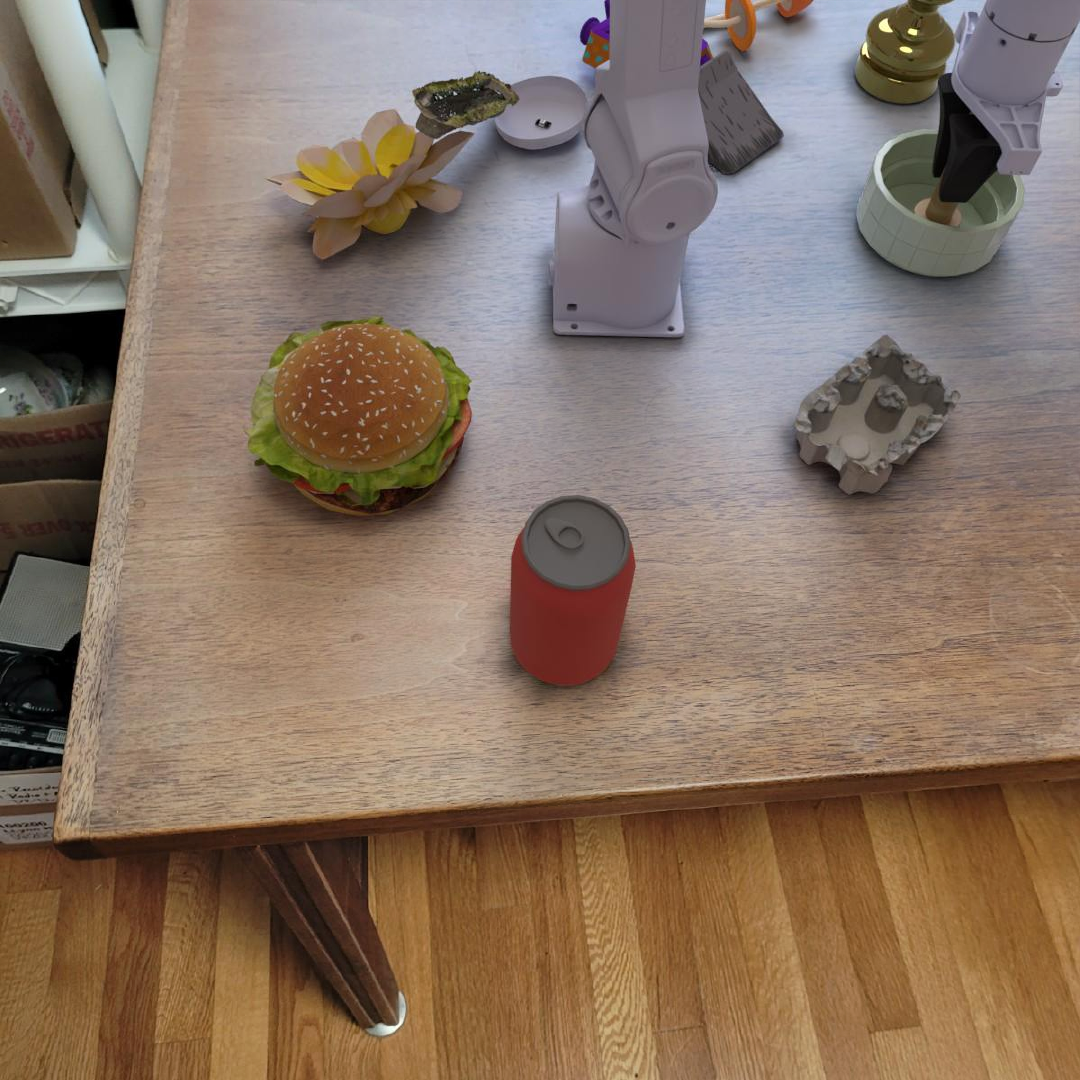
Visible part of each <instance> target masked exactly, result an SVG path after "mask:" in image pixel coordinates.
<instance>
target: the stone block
mask: <svg viewBox="0 0 1080 1080" xmlns="http://www.w3.org/2000/svg"><path fill="white" fill-rule="evenodd" d="M476 71H477V70H475V71H474V73H473V74H472V75H471V76H467V77H465V78H464V77H463V76H462V77H460V78H451V79H448V80H437V81H431V82H428V83H426V84H424V85H423V86H421V87H416V88H414V89H413V90H411V93H412V96H413V98H414V99H413V100H414V101H413V102H414V106H415V107H416V108H418V110H419V112H420V113H419V116H418V118H417V120H416V122H415V126H414V128H415V130H417V131H418V132H419V131H420V132H422V133H424V134H425V135H427V136H429V137H430V138H433V139H434V140H438V139H441V138H443V137H444V136H446V135H447V134H450V133H452V132H453V131H456V130H458V129H460V128H461V129H463V128H464V127H466V126H475V125H477V124H479V123H482V122H486V121H487V120H489V119H490V120H491V119H493V118H495V117H498V116H500V115H501V114H502V113H503V112H504V110H505V108H506V105H508V104H512V106H513V105H515V104H516V103H517V102H518V101H519V97H518V95H516V92H514V91H513V90H511V85H512V84H510V83H507V82H506V83H505V82H504V81H501V79H500V78H497V77H496V76H495V75H494V74H491V73H489V72H488V73H487V72H486V71H480V70H478V71H477V72H476ZM500 93H501V94H500ZM510 94H511V95H510ZM501 95H502V96H501ZM440 97H441V98H440Z"/></svg>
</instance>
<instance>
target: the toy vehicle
mask: <svg viewBox="0 0 1080 1080" xmlns="http://www.w3.org/2000/svg"><path fill="white" fill-rule="evenodd" d="M603 5H604V11H605V18H604V20H602V21H600V19H599V18H598V17H595V16H592V17H589V18H588V19H587V20H586V21H585V22H584V23H583V25H582V27H581V29H580V32H579V41H580V43H581V44H582V45H583V46H585V49H584V52H583V55H582V63H584V64H586V65H589V66H591V67H592V68H594V69H596V68H597V67H598V66H599V65H601V64H603V63H604V62H606V61H608V60H610V0H604V2H603ZM698 93H699V98H700V103H701V108H702V113H703V118H704V122H705V127H706V132H707V137H708V144H709V147H708V159H707V161H708V163H710V164H711V165H713V166H714V167H715V168H716V169H717V170H719V171H720V173H722V174H723V175H728V174H734V173H736V172H737V171H738V170H740V169H741V168H743V167H744V166H745V165H747V164H748V163H750V162H751V161H752V160H753V159H755V158H756V157H758V156H759V155H760V154H761V153H763V152H764V151H766V150H767V149H769V148H770V147H772V146H773V145H774V144H776V143H777V142H778V141H780V140H781V139H783V138H784V136H785V135H784V131H783V130H782V129H781V128H780V126H779V125H778V124H777V123H776V121H775V120H774V119H773V117H772V116H771V115H770V113H769V112H768V111H767V109H766V108H765V106H764V104H763V103H762V102H761V101H760V99H759V98H758V96H757V95H756V93H755V91H753V89H752V87H751V86H750V85H749V82H747V81H746V79H745V77H744V76H743V74H742V73H741V72H740V70H739V69H738V65H737V64H736V62H735V60H734V57H733V55H732V52H730V51H729V50H723V51H721V52H720V53H718V54H716V55H715V56H713V53H712V50H711V48H710V45H709V43H708V41H707V40H705V39H704V38H702V49H701V60H700V70H699V81H698Z"/></svg>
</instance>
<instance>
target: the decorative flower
mask: <svg viewBox="0 0 1080 1080" xmlns="http://www.w3.org/2000/svg"><path fill="white" fill-rule="evenodd" d="M474 135H476V133H475V132H473V131H464V130H458V131H455V132H450V133H447V134H446V135H444V136H442V137H441V138H439V140H437V141H435V139H433V138H430V137H429V136H427V135H425V134H424V133H422V132H420V131H419V130H418V132H416V128H415V126H414V125H410V124H407V123H405V122H404V120H403V118H402V117H401V115H400V113H399V112H398V111H397V110H396V109H395V108H391V109H386V110H381V111H376V112H375V113H374V114H373V115H372V116H371V117H370V118H369V119H368V120H367V121H366V124H365V125H364V128H363V130H362V131H361V134H360V139H358V138H355V137H351V138H349V139H344V140H343V141H340V142H339V143H337V144H336V145H334V146H333V147H332V148H329V147H328V146H326V145H325V146H324V145H319V144H310V145H308V146H306V147H304V148H302V149H300V150H299V152H297V154H296V156H295V163H296V166H297V167H298V170H296V171H292V172H287V173H282V174H277V175H273V176H271V177H266V178H264V179H265V180H266V181H268V182H271V183H273V184H276V185H278V186H279V188H280V190H281V191H282V192H283V193H284V194H285V195H286V196H288V197H289V198H290V199H293V200H294V201H295V202H297V203H300V204H302V205H304V206H307V207H308V208H307V209H306V210H305V211H304V212H302V213H301V215H303V216H311V217H317V219H315V221H314V222H313V224H312V226H310V228H309V229H308V231H307V234H313V240H312V251H313V254H314V255H315V256H316V257H317V258H318V259H321V260H324V259H327V258H329V257H332V256H334V255H335V254H337V253H339V252H341V251H343V250H345V249H347V248H348V247H350V246H352V245H354V244H355V243H356V242H357V240H358V239H359V238H360V237H361V233H362V230H363V228H362V226H363V227H365V228H367V229H368V230H370V231H372V232H375V233H378V234H381V235H386V234H391V233H394V232H397V231H398V230H400V229H402V227H403V225H404V224H405V223H406V221H407V219H408V218H409V216H410V213H411V210H412V209H416V208H418V206H417V205H418V204H417V202H418V203H419V205H420V206H422V207H424V208H426V209H428V210H431V211H433V212H437V213H440V214H443V213H447V212H451V211H453V210H454V209H456V208H457V207H458V206H459V204H460V201H461V199H462V196H463V194H462V191H461V190H460V189H458V188H456V187H453V186H451V185H450V184H447V183H446V182H441V181H439V180H436V179H433V178H434V177H435V176H436V175H438V174H440V172H441V171H442V170H443V169H445V167H447V166H448V165H449V164H450V163H451V162H452V161H453V160H454V159H455V158H456V156H457V155H458V154H459V153H460V152H461V151H462V150H463V148H464V147H465V145H467V144H468V142H469V141H470V140H471V139H472V138H473V137H474ZM434 141H435V142H434Z"/></svg>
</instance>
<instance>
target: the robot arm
mask: <svg viewBox="0 0 1080 1080" xmlns="http://www.w3.org/2000/svg"><path fill="white" fill-rule="evenodd" d="M706 4H707V0H610V60H608V61H606V62H604V63H603V64H601V65H599V66H598V67H597V68H595V70H594V71H595V72H594V73H595V77H594V78H595V79H594V80H595V81H594V82H595V83H594V89H593V92H592V96H591V98H590V100H589V102H588V103H587V104H588V106H587V107H586V109H585V112H584V115H583V119H582V129H581V134H582V138H583V140H584V143H585V144H586V146H587V148H588V149H589V150H590V151H591V153H592V156H593V158H594V167H593V173H592V176H591V178H590V182H589V184H587V185H585V186H582V187H580V188H575V189H574V188H573V189H570V190H563V191H558V192H557V196H556V209H555V224H554V225H555V226H554V239H553V240H554V241H553V253H552V259H550V260H549V263H548V265H549V266H548V267H549V268H548V285H549V286H550V287H552V315H553V317H552V328H553V329H552V330H553V332H554V334H556V335H561V336H562V335H563V336H564V335H565V336H605V337H640V338H641V337H643V338H644V337H646V338H682V337H683V336H684V334H685V319H684V307H683V298H682V286H681V285H682V284H681V276H682V271H683V268H684V261H685V258H686V253H687V248H688V244H689V243H688V242H689V238H690V235H691V233H692V232H694V231H695V230H697V229H698V228H699V227H700V226H701V225H702V224H703V223H704V222H705V221H706V220H707V219H708V217H709V216H710V214H711V213H712V211H713V209H714V208H715V205H716V203H717V200H718V195H719V194H718V193H719V189H718V182H717V180H716V177H715V175H714V174H713V172H712V170H711V169H710V166H709V161H708V160H707V159H708V147H709V144H708V137H707V132H706V127H705V122H704V118H703V113H702V108H701V103H700V98H699V93H698V81H699V70H700V60H701V49H702V38H703V36H704V29H705V28H704V18H706V6H707V5H706ZM1079 24H1080V0H986V1H985V3H984V5H983V7H982V10H974V9H973V10H970V9H969V10H968V9H964V10H963V12H962V15H961V18H960V20H959V22H958V24H957V27H956V29H955V32H954V36H955V43H957V44H958V48H957V52H956V57H955V61H954V65H953V68H952V72H944V74H943V75H941V76H940V77H939V79H938V87H937V89H938V97H939V98H938V99H939V118H938V119H939V120H938V128H937V130H938V136H937V142H936V147H935V153H934V159H933V167H932V173H933V177H934V178H940V177H941V175H942V173H943V170H944V168H945V170H944V173H943V176H942V179H941V183H940V188H939V198H940V201H941V202H954V203H966V202H968V201H969V200H970V198H971V197H972V196H973V195H974V194H975V193H976V192H977V191H978V190H979V189H980V187H981V186H982V185H983V184H984V183H985V182H986V181H987V180H988V179H989V178H990V177H991V176H992V175H993V174H994V173H995V172H996V171H997V170H998V171H999V174H1009V175H1020V176H1029V175H1031V173H1032V171H1033V170H1034V168H1035V166H1036V164H1037V162H1038V161H1039V158H1040V156H1041V155H1042V153H1043V148H1042V144H1041V138H1040V137H1041V129H1042V123H1043V118H1044V111H1045V106H1046V101H1047V98H1048V97H1053V98H1054V97H1057V96H1059V95H1060V93H1061V91H1062V89H1063V87H1064V86H1063V85H1064V83H1063V81H1062V79H1061V77H1060V74H1059V73H1058V71H1057V70H1056V68H1057V66H1058V64H1059V62H1060V61H1061V59H1062V57H1063V56H1064V53H1065V52H1066V49H1067V47H1068V45H1069V43H1070V41H1071V39H1072V37H1073V36H1074V34H1075V31H1076V30H1077V27H1078V26H1079ZM703 39H704V38H703ZM970 111H972V112H973V113H974V114H969V113H970ZM945 166H946V167H945Z"/></svg>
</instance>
